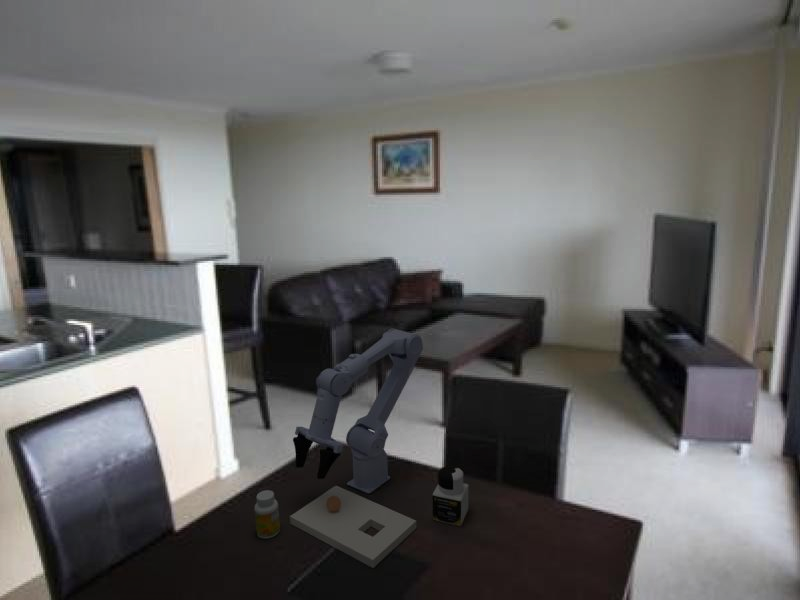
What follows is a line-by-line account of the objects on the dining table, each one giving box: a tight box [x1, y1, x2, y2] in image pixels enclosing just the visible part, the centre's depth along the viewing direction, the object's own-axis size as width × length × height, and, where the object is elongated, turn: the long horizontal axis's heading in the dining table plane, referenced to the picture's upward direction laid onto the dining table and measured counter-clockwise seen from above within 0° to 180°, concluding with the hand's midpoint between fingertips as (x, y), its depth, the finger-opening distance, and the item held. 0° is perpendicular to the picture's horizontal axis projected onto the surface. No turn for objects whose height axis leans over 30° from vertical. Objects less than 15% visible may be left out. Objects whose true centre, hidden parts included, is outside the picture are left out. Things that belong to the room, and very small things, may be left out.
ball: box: [326, 496, 341, 511], centre depth 126 cm, size 4×4×4 cm
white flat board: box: [289, 485, 417, 569], centre depth 123 cm, size 26×16×2 cm, turn 53°
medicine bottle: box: [432, 465, 469, 527], centre depth 125 cm, size 7×7×12 cm
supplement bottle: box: [253, 489, 281, 539], centre depth 121 cm, size 5×5×10 cm
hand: (309, 472), depth 126 cm, fingers open, 7 cm apart
